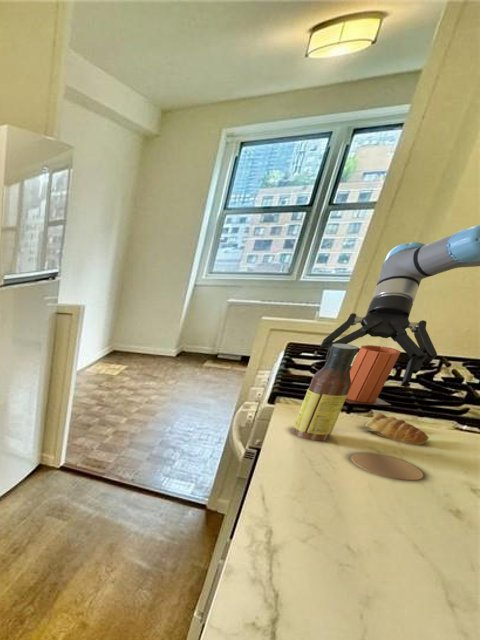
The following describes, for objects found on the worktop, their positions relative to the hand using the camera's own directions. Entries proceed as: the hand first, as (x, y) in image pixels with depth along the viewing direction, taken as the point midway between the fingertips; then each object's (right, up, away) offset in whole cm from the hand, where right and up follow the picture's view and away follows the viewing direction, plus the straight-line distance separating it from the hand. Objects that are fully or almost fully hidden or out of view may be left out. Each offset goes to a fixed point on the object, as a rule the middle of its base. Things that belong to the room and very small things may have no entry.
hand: (366, 377), depth 116 cm
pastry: (-7, -14, -12) cm, 20 cm away
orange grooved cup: (0, -4, +3) cm, 5 cm away
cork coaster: (-20, -21, -24) cm, 38 cm away
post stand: (0, -6, +3) cm, 7 cm away
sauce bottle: (-24, -15, -12) cm, 31 cm away
